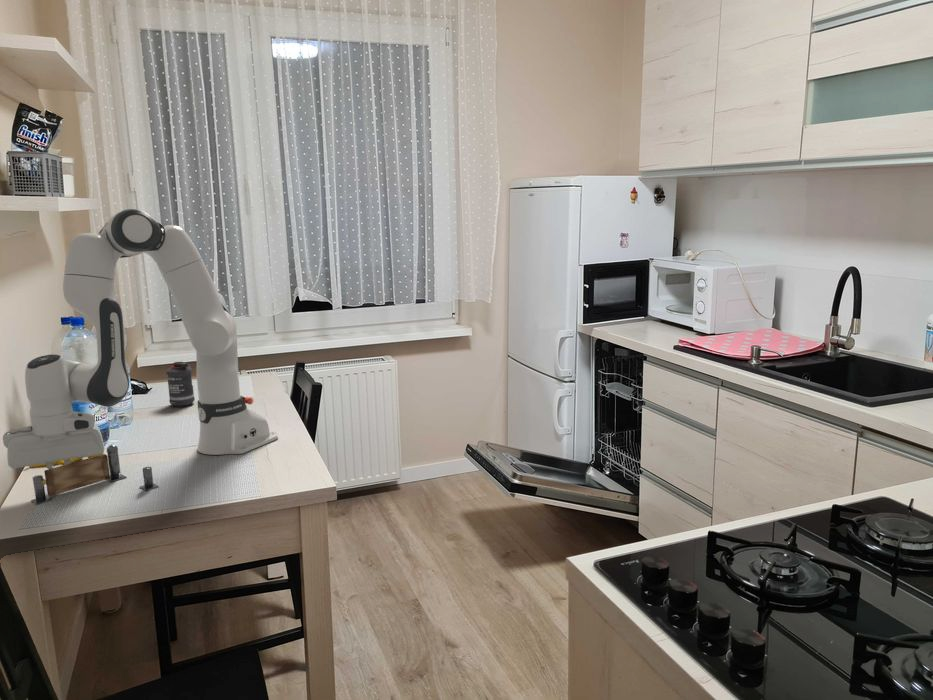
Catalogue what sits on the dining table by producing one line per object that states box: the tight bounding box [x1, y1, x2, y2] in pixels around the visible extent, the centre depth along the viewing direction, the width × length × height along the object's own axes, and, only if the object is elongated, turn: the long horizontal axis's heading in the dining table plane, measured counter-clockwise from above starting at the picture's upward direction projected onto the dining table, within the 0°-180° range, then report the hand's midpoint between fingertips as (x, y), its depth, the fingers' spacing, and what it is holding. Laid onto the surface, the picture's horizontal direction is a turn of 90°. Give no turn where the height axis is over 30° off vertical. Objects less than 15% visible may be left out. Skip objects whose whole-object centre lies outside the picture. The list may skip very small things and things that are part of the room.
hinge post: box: [106, 444, 127, 483], centre depth 175 cm, size 4×4×9 cm
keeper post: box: [139, 466, 160, 492], centre depth 170 cm, size 3×3×5 cm
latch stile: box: [30, 474, 52, 506], centre depth 162 cm, size 3×3×6 cm
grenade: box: [166, 361, 195, 408], centre depth 239 cm, size 8×8×15 cm
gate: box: [44, 453, 110, 498], centre depth 169 cm, size 14×2×6 cm, turn 141°
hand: (60, 477), depth 169 cm, fingers closed
